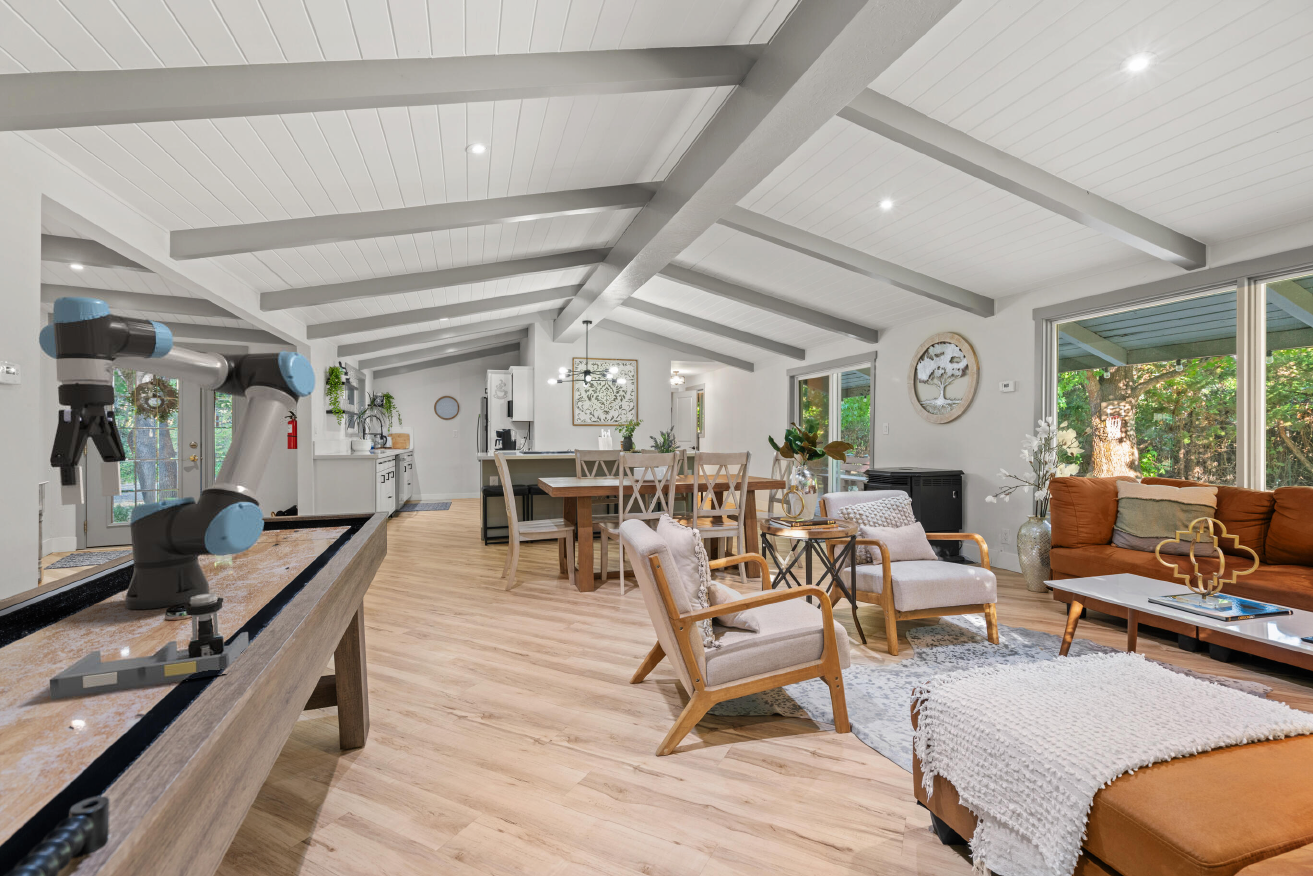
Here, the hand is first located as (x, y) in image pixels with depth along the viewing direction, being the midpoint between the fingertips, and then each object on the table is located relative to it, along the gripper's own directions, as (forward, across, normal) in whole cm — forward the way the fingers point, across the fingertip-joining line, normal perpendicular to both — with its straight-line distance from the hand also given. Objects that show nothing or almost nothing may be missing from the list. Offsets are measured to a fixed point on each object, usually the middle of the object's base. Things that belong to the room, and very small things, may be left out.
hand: (93, 499), depth 113 cm
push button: (+26, -19, -21) cm, 38 cm away
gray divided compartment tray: (+27, -21, -16) cm, 38 cm away
